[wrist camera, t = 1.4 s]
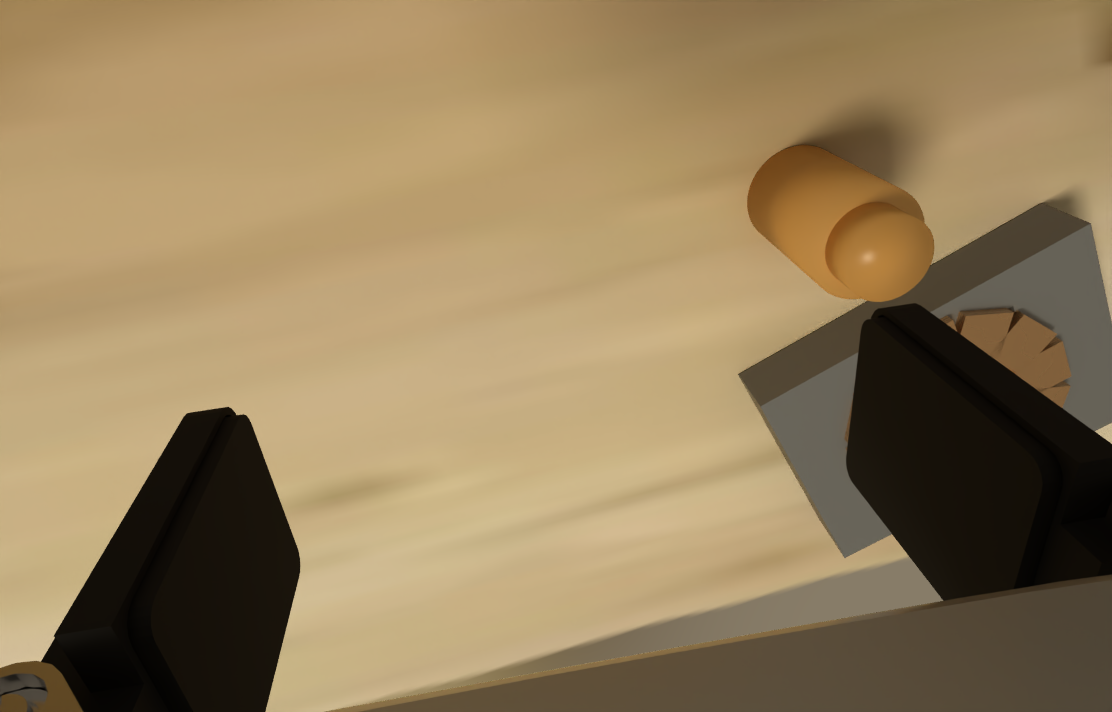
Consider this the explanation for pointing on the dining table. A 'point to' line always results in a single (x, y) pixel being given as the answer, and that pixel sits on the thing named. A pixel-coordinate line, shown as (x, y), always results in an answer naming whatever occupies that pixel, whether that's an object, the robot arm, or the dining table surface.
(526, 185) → the dining table surface
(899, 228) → the tan domed cylinder
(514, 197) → the dining table surface
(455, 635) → the dining table surface
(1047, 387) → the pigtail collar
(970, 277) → the plate
